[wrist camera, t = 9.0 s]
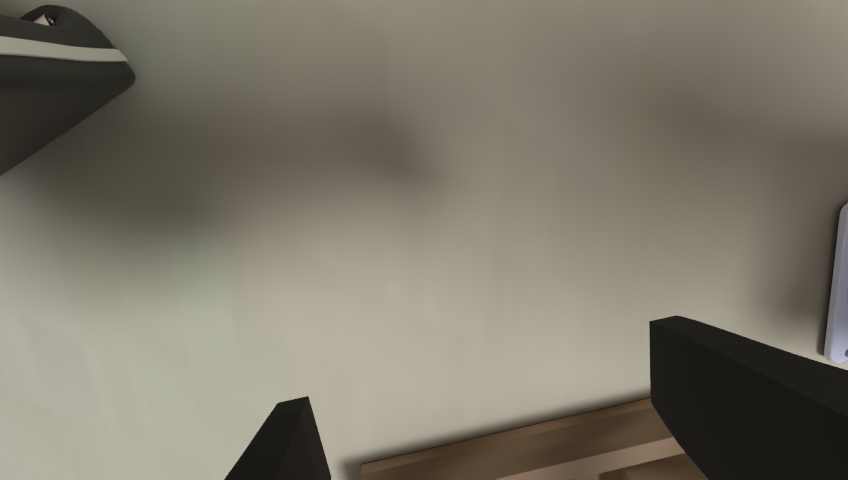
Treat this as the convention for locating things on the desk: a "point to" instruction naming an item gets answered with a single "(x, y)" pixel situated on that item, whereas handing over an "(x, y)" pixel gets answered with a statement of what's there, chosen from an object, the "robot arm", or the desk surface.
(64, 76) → the battery charger
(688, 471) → the maple block
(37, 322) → the desk surface
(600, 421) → the slot rack
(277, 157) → the desk surface
